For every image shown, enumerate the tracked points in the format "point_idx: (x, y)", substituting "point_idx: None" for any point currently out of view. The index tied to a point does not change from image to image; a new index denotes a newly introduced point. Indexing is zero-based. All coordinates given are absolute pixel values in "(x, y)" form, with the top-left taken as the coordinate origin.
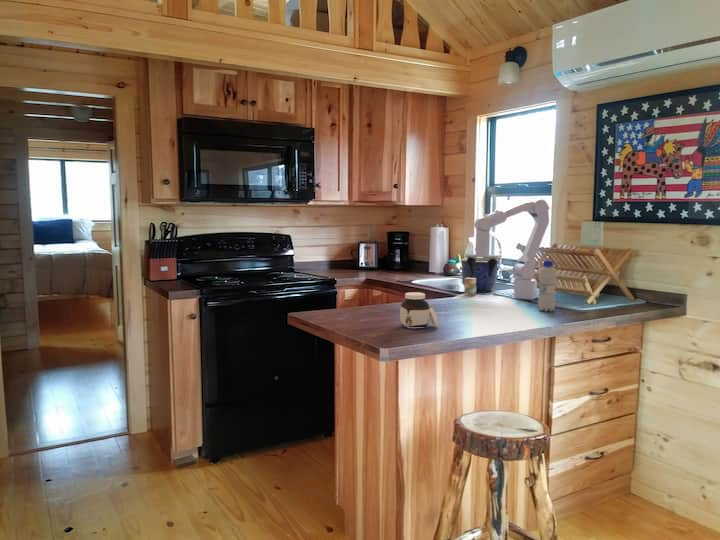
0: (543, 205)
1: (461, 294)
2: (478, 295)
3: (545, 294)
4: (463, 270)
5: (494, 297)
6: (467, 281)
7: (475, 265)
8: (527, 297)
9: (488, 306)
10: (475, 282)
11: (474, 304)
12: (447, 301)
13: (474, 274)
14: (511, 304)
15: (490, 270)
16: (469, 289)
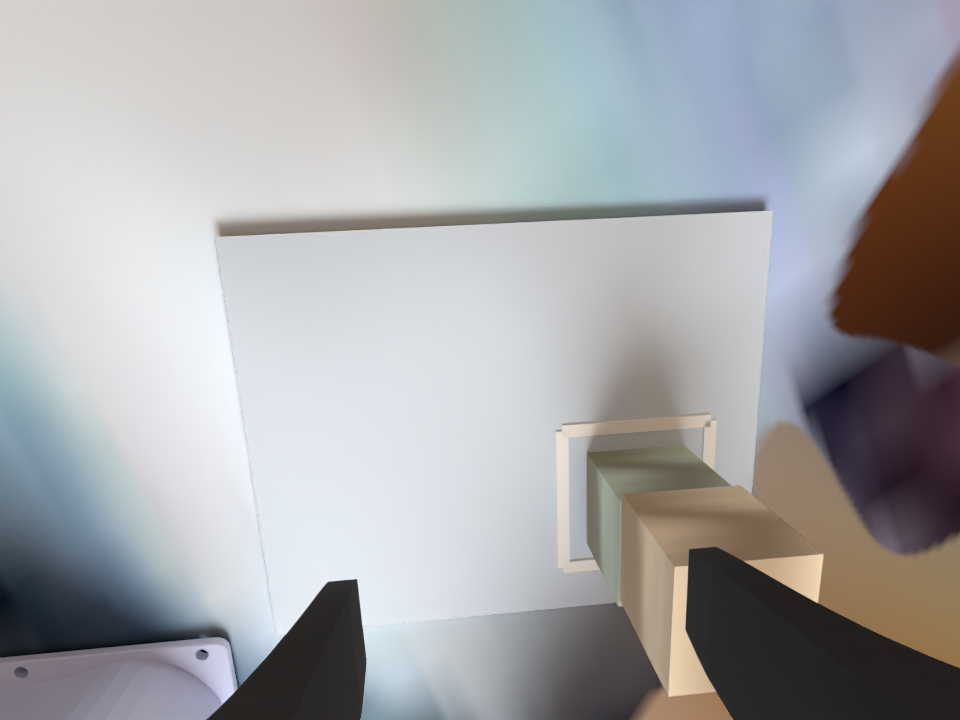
0: None
1: None
2: (562, 550)
3: None
4: None
5: (373, 548)
6: (745, 533)
7: None
8: (41, 688)
9: (201, 9)
10: (643, 622)
11: (405, 47)
12: (756, 59)
13: (690, 625)
14: (49, 314)
15: (267, 664)
16: (661, 485)
